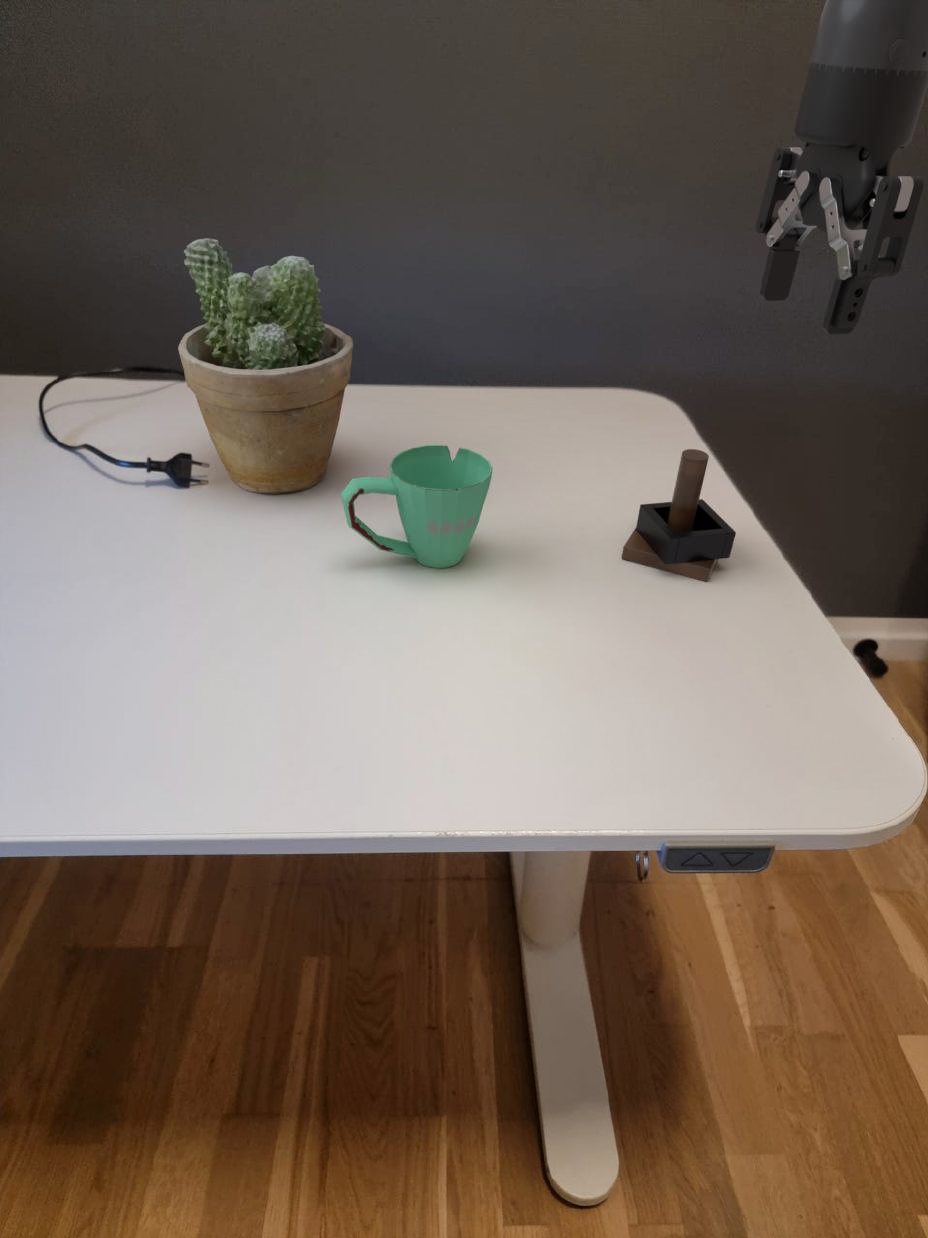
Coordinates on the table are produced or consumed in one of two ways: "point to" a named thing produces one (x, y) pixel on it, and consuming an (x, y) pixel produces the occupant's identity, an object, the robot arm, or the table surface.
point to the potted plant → (265, 369)
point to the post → (677, 519)
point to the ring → (685, 534)
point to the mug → (428, 502)
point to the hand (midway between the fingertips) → (803, 314)
